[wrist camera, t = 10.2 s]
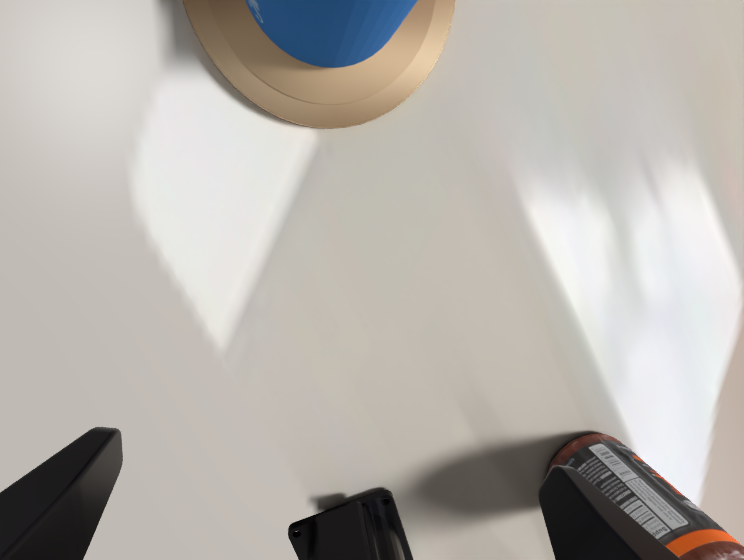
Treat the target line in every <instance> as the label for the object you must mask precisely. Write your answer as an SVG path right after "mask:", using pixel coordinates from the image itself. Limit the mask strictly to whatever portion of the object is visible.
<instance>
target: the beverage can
mask: <svg viewBox="0 0 744 560" xmlns="http://www.w3.org/2000/svg"><path fill="white" fill-rule="evenodd" d="M245 1H246V3H247V6H248V8H249V10H250V12H251V14H252V15H253V17H254V19H255V21H256V22H257V24H258V25H259V26H260V28H261V29H262V31H263V32H264V33H265V34H266V35H267V36H268V38H269V39H270V40H271V41H272V42H273V43H274V44H276V45H277V46H278V47H279V48H280V49H281V50H283V51H284V52H286V53H287V54H289V55H290V56H292V57H294V58H296V59H298V60H300V61H302V62H304V63H307V64H310V65H314V66H318V67H324V68H340V67H347V66H351V65H355V64H357V63H360V62H362V61H364V60H366V59H368V58H370V57H371V56H373V55H374V54H375V53H377V52H378V51H379V50H381V49H382V48H383V47H384V45H385V44H386V43H387V42H388V41H389V40H390V39H391V37H392V36H393V34H394V33H395V32H396V30H397V29H398V28H399V26H400V25H401V23H402V22H403V21H404V19H405V18H406V16H407V15H408V14H409V12H410V11H411V9H412V8H413V7H414V5H415V4H416V2H417V1H418V0H245Z"/></svg>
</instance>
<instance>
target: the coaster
mask: <svg viewBox="0 0 744 560" xmlns="http://www.w3.org/2000/svg"><path fill="white" fill-rule="evenodd" d="M183 3H184V6H185V9H186V12H187V15H188V17H189V19H190V22H191V24H192V26H193V29H194V31H195V33H196V35H197V37H198V38H199V40H200V42H201V44H202V46H203V47H204V49H205V51H206V52H207V54H208V55H209V56H210V58H211V59H212V61H213V62H214V63H215V65H216V66H217V68H218V69H219V70H220V71H221V72H222V74H223V75H224V76H225V77H226V78H227V79H228V80H229V81H230V82H231V84H232V85H233V86H234V87H235V88H236V89H238V90H239V91H240V92H241V93H242V94H243V95H244V96H246V97H247V98H248V99H249V100H251V101H252V102H254V103H255V104H256V105H258V106H259V107H261V108H262V109H264V110H266V111H268V112H269V113H271V114H273V115H275V116H277V117H279V118H282V119H284V120H287V121H290V122H293V123H295V124H299V125H304V126H308V127H315V128H327V129H330V128H345V127H350V126H355V125H360V124H363V123H365V122H368V121H371V120H374V119H376V118H378V117H380V116H382V115H384V114H386V113H387V112H389V111H391V110H392V109H394V108H395V107H396V106H398V105H399V104H401V103H402V102H403V101H405V100H406V99H407V98H408V97H409V96H410V95H411V94H412V93H413V92H414V91H415V90H416V89H417V88H418V87H419V86H420V85H421V83H422V82H423V81H424V80H425V78H426V77H427V76H428V74H429V73H430V71H431V70H432V68H433V66H434V65H435V63H436V62H437V59H438V57H439V55H440V53H441V51H442V49H443V47H444V44H445V42H446V39H447V36H448V33H449V30H450V26H451V22H452V17H453V12H454V7H455V0H418V1H417V2H416V4H415V5H414V7H413V8H412V9H411V11H410V12H409V14H408V15H407V16H406V18H405V19H404V21H403V22H402V23H401V25H400V26H399V28H398V29H397V30H396V32H395V33H394V34H393V36H392V37H391V39H390V40H389V41H388V42H387V43H386V44H385V45H384V47H383V48H382V49H381V50H379V51H378V52H377V53H375V54H374V55H373V56H371V57H370V58H368V59H366V60H364V61H362V62H360V63H357V64H355V65H351V66H347V67H340V68H324V67H318V66H314V65H310V64H307V63H304V62H302V61H300V60H298V59H296V58H294V57H292V56H290V55H289V54H287V53H286V52H284V51H283V50H281V49H280V48H279V47H278V46H277V45H276V44H274V43H273V42H272V41H271V40H270V39H269V38H268V36H267V35H266V34H265V33H264V32H263V31H262V29H261V28H260V26H259V25H258V24H257V22H256V21H255V19H254V17H253V15H252V14H251V12H250V10H249V8H248V6H247V3H246V1H245V0H183Z"/></svg>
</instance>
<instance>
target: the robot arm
mask: <svg viewBox="0 0 744 560" xmlns="http://www.w3.org/2000/svg"><path fill="white" fill-rule="evenodd" d="M122 461H123V455H122V439H121V432H120V430H119V429H116V428H106V427H96V428H93V429H91V430H89V431H88V432H87V433H85V434H84V435H82V436H81V437H79V438H78V439H76V440H75V441H74V442H72V443H71V444H69V445H68V446H67V447H65V448H63V449H62V450H61V451H59V452H58V453H56V454H55V455H53V456H52V457H51V458H49V459H48V460H46V461H45V462H43V463H42V464H41V465H39V466H38V467H37V468H35V469H33V470H32V471H31V472H29V473H28V474H26V475H25V476H23V477H22V478H21V479H19V480H18V481H16V482H15V483H13V484H12V485H11V486H9V487H8V488H7V489H5V490H4V491H2V492H1V493H0V560H83V558H84V556H85V554H86V551H87V549H88V547H89V545H90V542H91V540H92V537H93V535H94V533H95V530H96V528H97V525H98V523H99V521H100V518H101V516H102V513H103V511H104V509H105V506H106V504H107V502H108V499H109V497H110V494H111V492H112V490H113V487H114V485H115V482H116V480H117V477H118V475H119V473H120V470H121V466H122ZM538 496H539V502H540V505H541V509H542V513H543V516H544V520H545V523H546V527H547V530H548V534H549V538H550V541H551V545H552V548H553V552H554V555H555V559H556V560H681V559H680V558H679V557H678V556H676V555H675V554H674V553H673V552H672V551H671V550H669V549H668V548H667V547H666V546H665V545H664V544H662V543H661V542H660V541H659V540H658V539H657V538H655V537H654V536H653V535H652V534H651V533H650V532H648V531H647V530H646V529H645V528H644V527H643V526H641V525H640V524H639V523H638V522H637V521H636V520H634V519H633V518H632V517H631V516H630V515H628V514H627V513H626V512H625V511H624V510H623V509H621V508H620V507H619V506H618V505H617V504H616V503H614V502H613V501H612V500H611V499H610V498H609V497H607V496H606V495H605V494H604V493H603V492H602V491H600V490H599V489H598V488H597V487H596V486H595V485H593V484H592V483H591V482H590V481H589V480H588V479H586V478H585V477H584V476H583V475H582V474H581V473H579V472H578V471H577V470H576V469H574V468H573V467H570V466H560V465H556V466H554V467H552V468H551V470H550V471H549V473H548V475H547V476H546V478H545V480H544V481H543V483H542V484H541V486H540V488H539V494H538ZM385 498H387V499H385ZM383 499H385V500H383ZM295 531H297V532H295ZM288 536H289V539H290V541H291V543H292V545H293V548H294V550H295V552H296V554H297V556H298V559H299V560H413V557H412V554H411V551H410V547H409V544H408V541H407V538H406V535H405V532H404V529H403V526H402V523H401V520H400V517H399V514H398V511H397V508H396V504H395V501H394V498H393V495H392V493H391V491H389V490H381V491H379V492H376V493H373V494H371V495H368V496H365V497H362V498H360V499H357V500H354V501H351V502H349V503H346V504H343V505H340V506H338V507H335V508H332V509H329V510H327V511H324V512H321V513H318V514H316V515H313V516H310V517H308V518H305V519H302V520H300V521H297V522H294V523H292V524H291V525H290V526H289V529H288Z"/></svg>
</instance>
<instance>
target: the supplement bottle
mask: <svg viewBox="0 0 744 560" xmlns="http://www.w3.org/2000/svg"><path fill="white" fill-rule="evenodd" d="M556 465H560V466H570V467H573V468H574V469H576V470H577V471H578V472H579V473H581V474H582V475H583V476H584V477H585V478H586V479H588V480H589V481H590V482H591V483H592V484H593V485H595V486H596V487H597V488H598V489H599V490H600V491H602V492H603V493H604V494H605V495H606V496H607V497H609V498H610V499H611V500H612V501H613V502H614V503H616V504H617V505H618V506H619V507H620V508H621V509H623V510H624V511H625V512H626V513H627V514H628V515H630V516H631V517H632V518H633V519H634V520H636V521H637V522H638V523H639V524H640V525H641V526H643V527H644V528H645V529H646V530H647V531H648V532H650V533H651V534H652V535H653V536H654V537H655V538H657V539H658V540H659V541H660V542H661V543H662V544H664V545H665V546H666V547H667V548H668V549H669V550H671V551H672V552H673V553H674V554H675V555H676V556H678V557H679V558H680V559H681V560H744V547H743V546H742V545H741V544H740V543H739V542H737V541H736V540H735V539H734V538H732V536H730V535H729V534H728V533H727V532H726V531H725V530H724V529H723V528H722V527H720V526H719V525H718V524H717V523H716V522H714V521H713V520H712V519H711V518H710V517H708V516H707V515H706V514H705V513H704V512H703V511H702V510H700V509H699V508H698V507H697V506H696V505H695V504H693V503H692V502H691V501H690V500H689V499H688V498H686V497H685V496H684V495H682V494H681V493H680V492H679V491H678V490H677V489H675V488H674V487H673V486H672V485H671V484H670V483H668V482H667V481H666V480H665V479H664V478H663V477H661V476H660V475H659V474H658V473H657V472H656V471H655V470H653V469H652V468H651V467H650V466H649V465H648V464H646V463H645V462H644V461H643V460H642V459H640V458H639V457H638V456H637V455H636V454H635V453H634V452H632V451H631V450H630V449H629V448H628V447H626V446H625V445H623V444H622V443H621V442H620V441H618V440H617V439H615V438H613V437H611V436H608V435H605V434H601V433H600V434H590V435H586V436H582V437H579V438H577V439H575V440H573V441H571V442H569V443H568V444H567V445H566V446H565V447H564V448H562V449H561V450H560V451H559V453H558V454H557V455H556V456H555V458H554V459H553V460H552V462H551V465H550V467H549V470H548V473H549V471H550V470H551V468H552V467H554V466H556ZM547 475H548V474H547Z"/></svg>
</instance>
